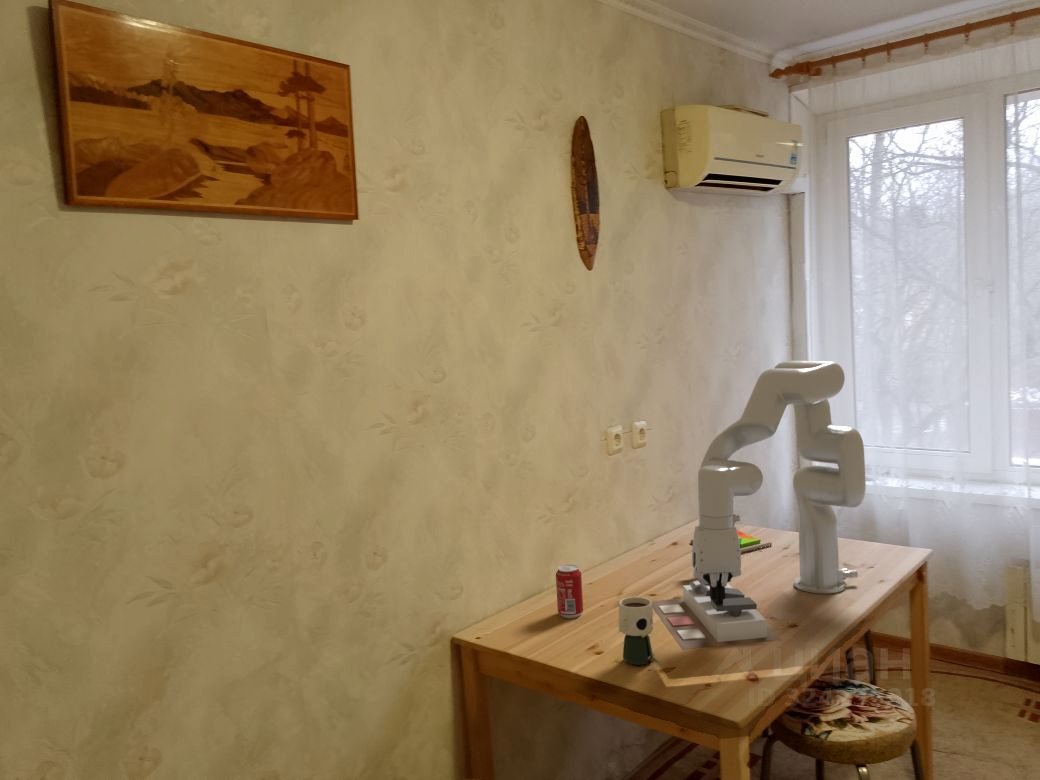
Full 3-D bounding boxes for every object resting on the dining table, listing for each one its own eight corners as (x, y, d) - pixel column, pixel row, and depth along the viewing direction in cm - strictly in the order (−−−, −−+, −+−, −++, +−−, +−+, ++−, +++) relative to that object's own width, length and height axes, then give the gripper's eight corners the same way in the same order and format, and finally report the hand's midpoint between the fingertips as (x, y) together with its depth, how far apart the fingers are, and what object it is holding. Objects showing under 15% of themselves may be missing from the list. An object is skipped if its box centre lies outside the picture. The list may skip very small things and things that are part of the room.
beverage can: (586, 610, 206) (583, 564, 205) (579, 620, 200) (577, 572, 199) (562, 609, 208) (559, 563, 207) (554, 618, 202) (552, 571, 201)
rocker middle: (736, 600, 195) (737, 588, 195) (742, 606, 191) (744, 594, 190) (699, 595, 194) (701, 584, 194) (705, 602, 190) (707, 590, 190)
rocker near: (749, 608, 187) (749, 596, 187) (756, 615, 183) (756, 603, 182) (710, 611, 186) (710, 599, 186) (717, 618, 182) (717, 605, 182)
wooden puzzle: (730, 559, 242) (730, 547, 242) (688, 545, 259) (688, 534, 258) (774, 547, 250) (773, 536, 250) (730, 535, 267) (730, 524, 266)
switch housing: (726, 597, 206) (726, 581, 206) (766, 637, 180) (766, 619, 180) (683, 601, 205) (683, 585, 205) (717, 641, 179) (717, 624, 179)
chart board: (733, 598, 208) (733, 592, 208) (781, 645, 179) (781, 638, 179) (648, 606, 207) (648, 600, 207) (682, 654, 177) (682, 647, 177)
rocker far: (726, 581, 203) (723, 570, 203) (732, 587, 198) (729, 576, 198) (692, 592, 202) (689, 581, 202) (697, 598, 198) (694, 587, 198)
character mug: (635, 674, 169) (632, 613, 168) (608, 665, 174) (605, 605, 173) (667, 657, 176) (664, 598, 175) (640, 648, 181) (637, 591, 180)
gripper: (743, 516, 187) (744, 595, 188) (678, 519, 185) (680, 599, 187) (755, 523, 179) (756, 606, 180) (687, 527, 178) (689, 610, 179)
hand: (717, 602), depth 184 cm, fingers closed
